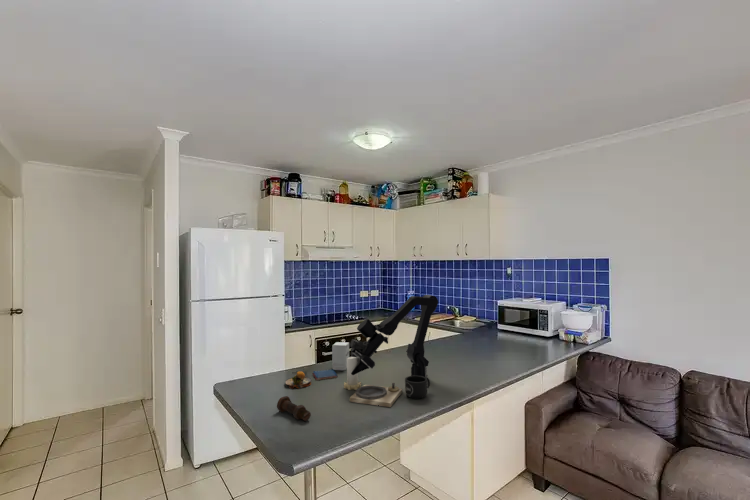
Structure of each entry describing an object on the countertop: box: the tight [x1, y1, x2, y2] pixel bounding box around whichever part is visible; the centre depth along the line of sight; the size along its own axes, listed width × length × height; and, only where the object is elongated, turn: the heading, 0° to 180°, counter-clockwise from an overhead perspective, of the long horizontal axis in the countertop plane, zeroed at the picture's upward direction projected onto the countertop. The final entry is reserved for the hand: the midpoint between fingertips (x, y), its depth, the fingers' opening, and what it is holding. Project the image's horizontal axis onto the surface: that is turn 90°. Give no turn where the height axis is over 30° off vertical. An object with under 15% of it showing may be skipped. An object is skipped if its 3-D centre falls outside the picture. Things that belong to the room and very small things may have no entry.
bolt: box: [276, 395, 312, 422], centre depth 131 cm, size 6×5×15 cm
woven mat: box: [312, 368, 338, 381], centre depth 175 cm, size 10×11×2 cm
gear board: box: [349, 382, 403, 408], centre depth 148 cm, size 17×16×4 cm
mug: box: [404, 375, 431, 400], centre depth 149 cm, size 12×9×7 cm
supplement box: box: [331, 341, 350, 371], centre depth 187 cm, size 7×7×13 cm
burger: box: [284, 368, 312, 390], centre depth 164 cm, size 12×12×8 cm
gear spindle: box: [343, 356, 362, 391], centre depth 160 cm, size 8×8×12 cm
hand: (349, 372), depth 159 cm, fingers open, 7 cm apart
